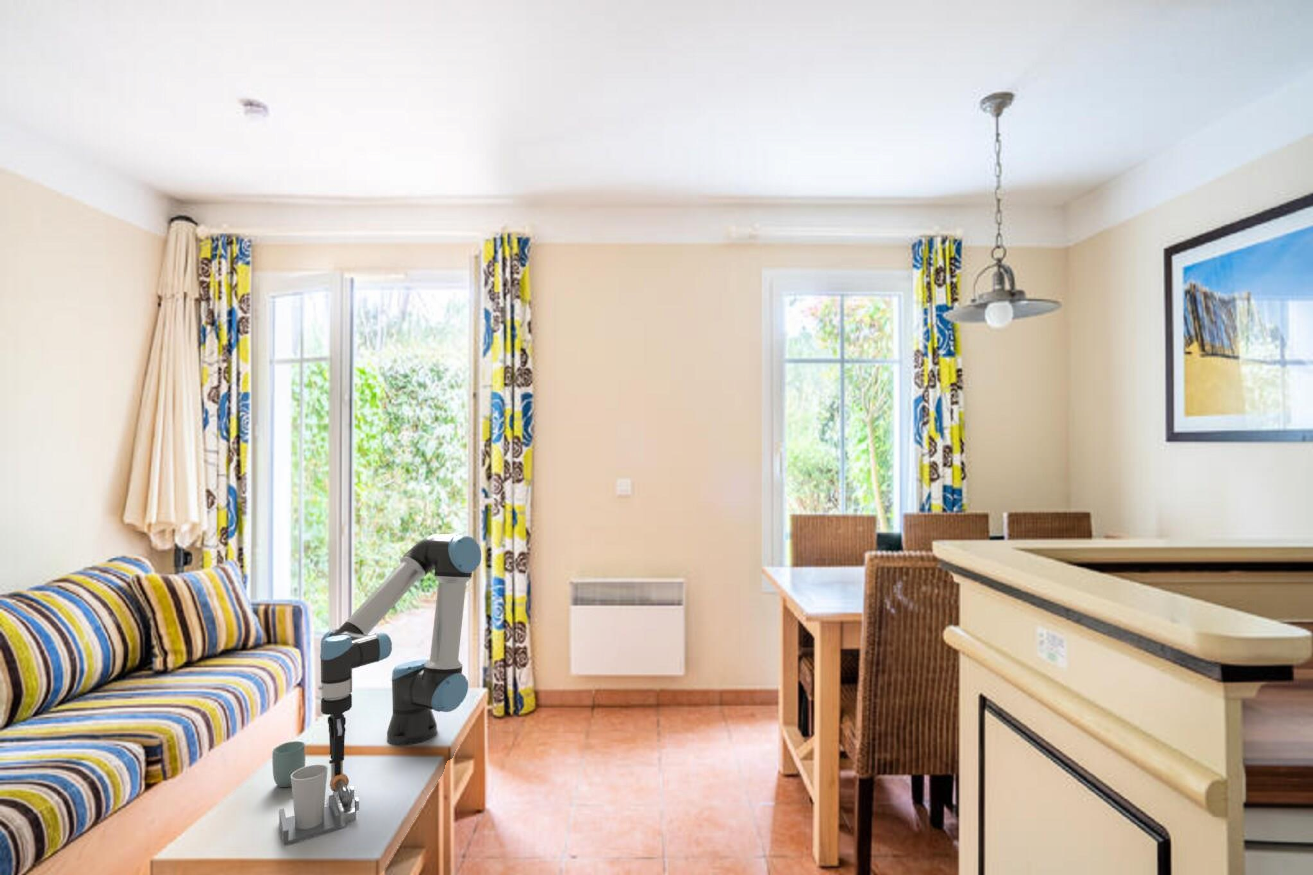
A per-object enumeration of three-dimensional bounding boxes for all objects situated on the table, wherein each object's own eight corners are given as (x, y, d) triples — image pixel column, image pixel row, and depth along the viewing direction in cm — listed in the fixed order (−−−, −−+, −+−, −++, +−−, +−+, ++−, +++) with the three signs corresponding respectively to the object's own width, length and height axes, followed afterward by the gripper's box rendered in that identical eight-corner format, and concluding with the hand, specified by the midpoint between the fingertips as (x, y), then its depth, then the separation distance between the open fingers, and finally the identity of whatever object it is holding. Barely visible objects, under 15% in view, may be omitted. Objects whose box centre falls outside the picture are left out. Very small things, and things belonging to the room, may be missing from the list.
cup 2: (335, 816, 164) (334, 766, 164) (308, 833, 156) (308, 781, 157) (310, 811, 166) (310, 762, 167) (283, 828, 159) (282, 777, 159)
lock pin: (329, 792, 175) (329, 775, 175) (348, 787, 177) (347, 771, 177) (337, 813, 164) (337, 795, 164) (356, 808, 166) (356, 790, 166)
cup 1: (291, 791, 179) (290, 753, 179) (266, 789, 180) (266, 752, 180) (311, 777, 186) (311, 741, 187) (287, 776, 188) (287, 740, 188)
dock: (333, 807, 169) (333, 794, 169) (340, 828, 159) (340, 814, 159) (279, 823, 163) (279, 809, 163) (283, 845, 153) (283, 831, 153)
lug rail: (352, 802, 172) (352, 784, 172) (360, 822, 162) (360, 803, 162) (333, 807, 169) (332, 789, 169) (340, 828, 159) (340, 809, 160)
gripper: (318, 691, 182) (318, 779, 181) (324, 705, 171) (324, 798, 170) (347, 686, 186) (348, 771, 185) (355, 699, 175) (356, 790, 174)
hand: (336, 784), depth 177 cm, fingers closed
